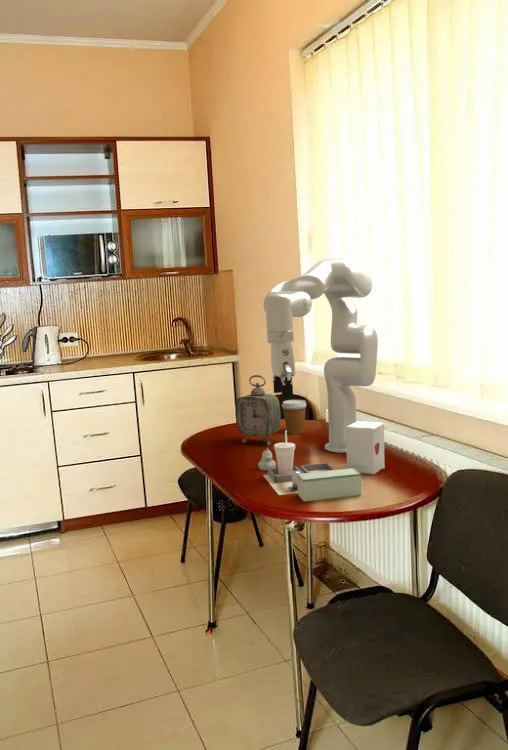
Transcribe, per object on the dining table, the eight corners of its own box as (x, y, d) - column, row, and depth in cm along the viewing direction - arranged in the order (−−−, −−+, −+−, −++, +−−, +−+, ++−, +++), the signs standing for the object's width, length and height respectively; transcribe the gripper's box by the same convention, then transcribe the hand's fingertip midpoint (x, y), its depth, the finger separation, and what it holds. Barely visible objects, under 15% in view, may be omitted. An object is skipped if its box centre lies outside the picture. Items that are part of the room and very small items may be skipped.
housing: (353, 492, 195) (353, 467, 194) (361, 498, 189) (360, 473, 188) (298, 498, 192) (297, 473, 191) (304, 505, 186) (303, 480, 185)
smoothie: (294, 480, 205) (293, 433, 203) (273, 479, 206) (271, 433, 204) (298, 473, 211) (296, 428, 209) (276, 473, 213) (274, 428, 211)
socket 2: (328, 468, 215) (328, 462, 215) (337, 476, 207) (337, 470, 207) (300, 471, 214) (299, 465, 213) (308, 479, 205) (308, 473, 205)
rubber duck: (263, 475, 216) (262, 450, 214) (255, 470, 222) (254, 445, 220) (279, 472, 217) (278, 447, 216) (271, 467, 224) (270, 443, 222)
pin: (299, 487, 198) (299, 470, 197) (302, 489, 196) (301, 472, 195) (291, 488, 198) (290, 470, 197) (293, 490, 195) (292, 473, 195)
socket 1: (296, 471, 214) (296, 465, 213) (304, 479, 205) (304, 473, 205) (268, 474, 212) (267, 468, 212) (274, 483, 203) (274, 476, 203)
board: (333, 471, 216) (332, 467, 216) (355, 490, 197) (355, 485, 196) (263, 479, 212) (262, 474, 211) (279, 499, 192) (278, 494, 192)
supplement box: (374, 478, 207) (373, 428, 205) (346, 475, 212) (344, 426, 210) (385, 470, 215) (384, 422, 213) (358, 467, 220) (357, 420, 217)
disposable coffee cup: (308, 434, 266) (307, 403, 264) (283, 435, 266) (281, 404, 264) (306, 429, 275) (305, 398, 273) (282, 430, 275) (281, 400, 273)
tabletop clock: (237, 443, 257) (233, 376, 253) (251, 438, 264) (247, 372, 261) (270, 447, 249) (267, 377, 245) (284, 441, 256) (281, 374, 253)
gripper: (301, 338, 195) (303, 399, 198) (285, 333, 211) (288, 389, 214) (274, 341, 193) (277, 402, 196) (261, 335, 210) (264, 391, 213)
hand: (283, 395), depth 205 cm, fingers open, 9 cm apart
